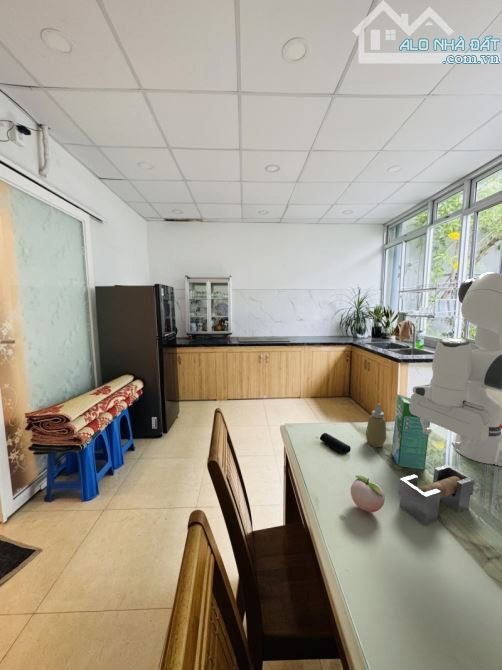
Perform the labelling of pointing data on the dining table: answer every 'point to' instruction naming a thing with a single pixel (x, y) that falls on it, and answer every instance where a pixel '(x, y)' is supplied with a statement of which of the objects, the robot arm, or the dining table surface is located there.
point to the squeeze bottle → (376, 428)
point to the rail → (442, 486)
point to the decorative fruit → (367, 494)
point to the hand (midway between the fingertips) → (442, 440)
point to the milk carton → (408, 437)
